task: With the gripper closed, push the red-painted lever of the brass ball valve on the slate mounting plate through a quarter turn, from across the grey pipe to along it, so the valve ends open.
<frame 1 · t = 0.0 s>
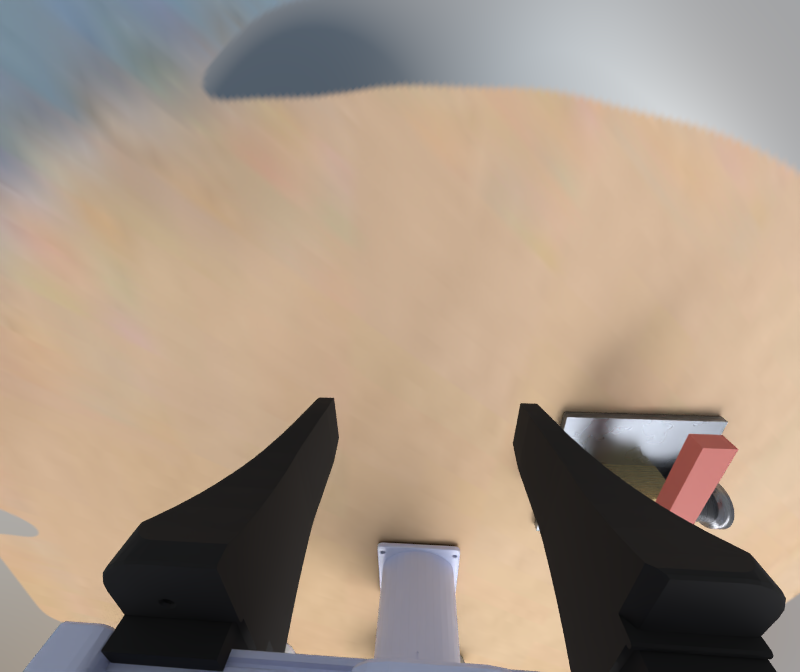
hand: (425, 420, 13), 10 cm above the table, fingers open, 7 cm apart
valve assembly: (616, 476, 28), on the table
valve lever: (678, 504, 21), point 5 cm above the table, hinge at 0.0°
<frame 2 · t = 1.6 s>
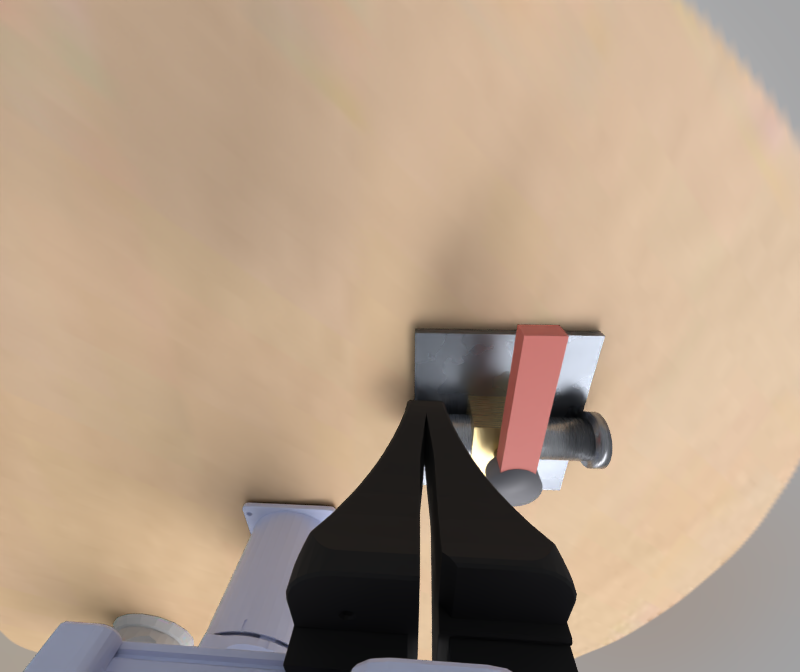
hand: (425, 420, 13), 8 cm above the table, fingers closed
valve assembly: (494, 414, 23), on the table
valve lever: (523, 425, 17), point 5 cm above the table, hinge at 0.0°
french press: (149, 633, 42), on the table
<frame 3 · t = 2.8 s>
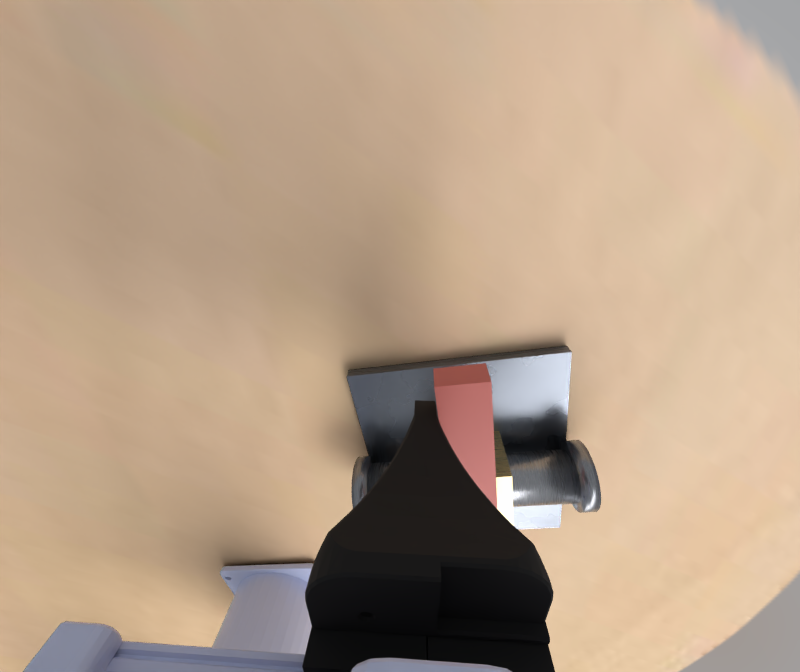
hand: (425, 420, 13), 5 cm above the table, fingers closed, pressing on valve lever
valve assembly: (463, 452, 20), on the table
valve lever: (471, 484, 14), point 5 cm above the table, hinge at 0.5°, touching gripper
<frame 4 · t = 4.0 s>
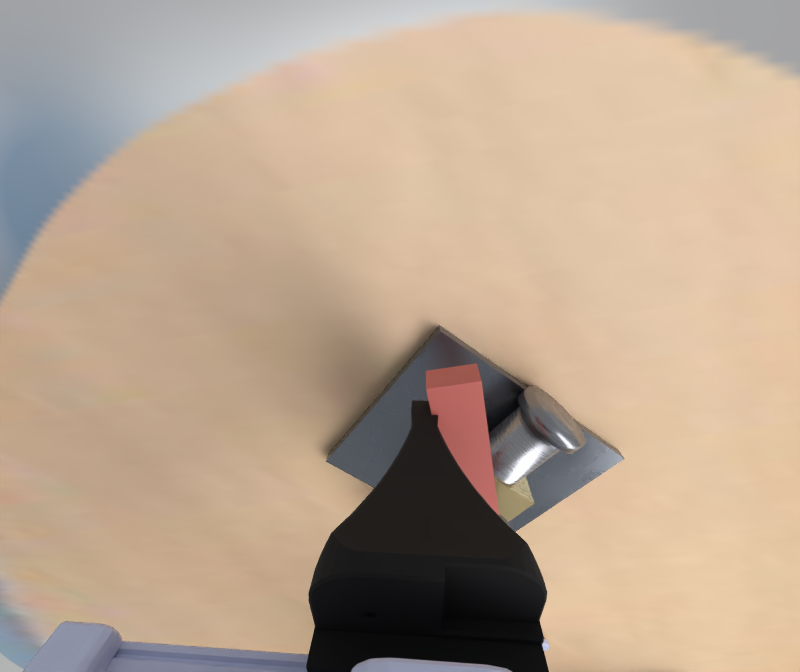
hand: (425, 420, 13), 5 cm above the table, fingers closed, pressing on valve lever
valve assembly: (467, 452, 20), on the table
valve lever: (471, 483, 14), point 5 cm above the table, hinge at 42.4°, touching gripper
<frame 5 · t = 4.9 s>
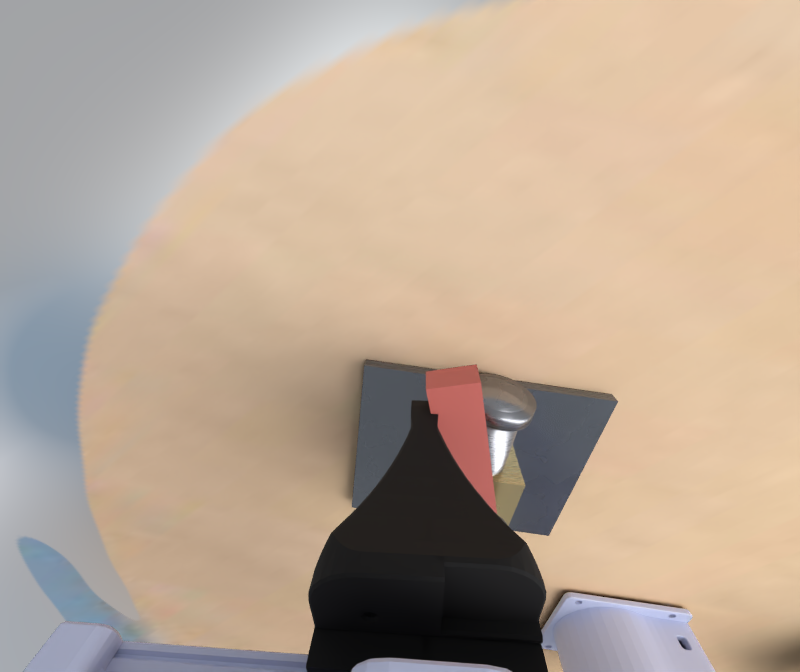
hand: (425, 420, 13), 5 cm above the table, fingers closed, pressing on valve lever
valve assembly: (466, 453, 20), on the table
valve lever: (469, 483, 14), point 5 cm above the table, hinge at 71.4°, touching gripper
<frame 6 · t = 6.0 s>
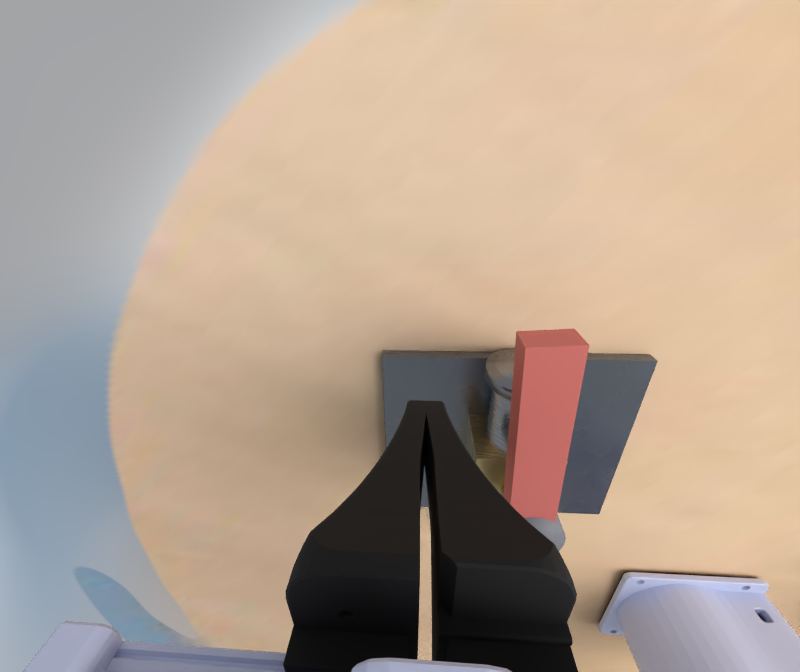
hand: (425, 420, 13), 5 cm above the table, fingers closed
valve assembly: (500, 436, 19), on the table
valve lever: (534, 461, 13), point 5 cm above the table, hinge at 86.2°
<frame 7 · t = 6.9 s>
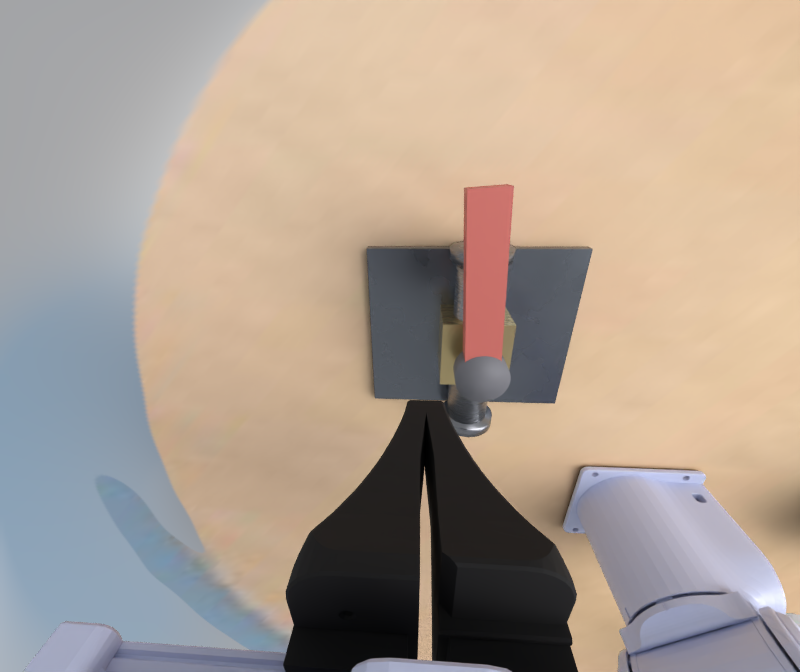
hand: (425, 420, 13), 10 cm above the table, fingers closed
valve assembly: (468, 329, 23), on the table
valve lever: (483, 306, 16), point 5 cm above the table, hinge at 86.3°
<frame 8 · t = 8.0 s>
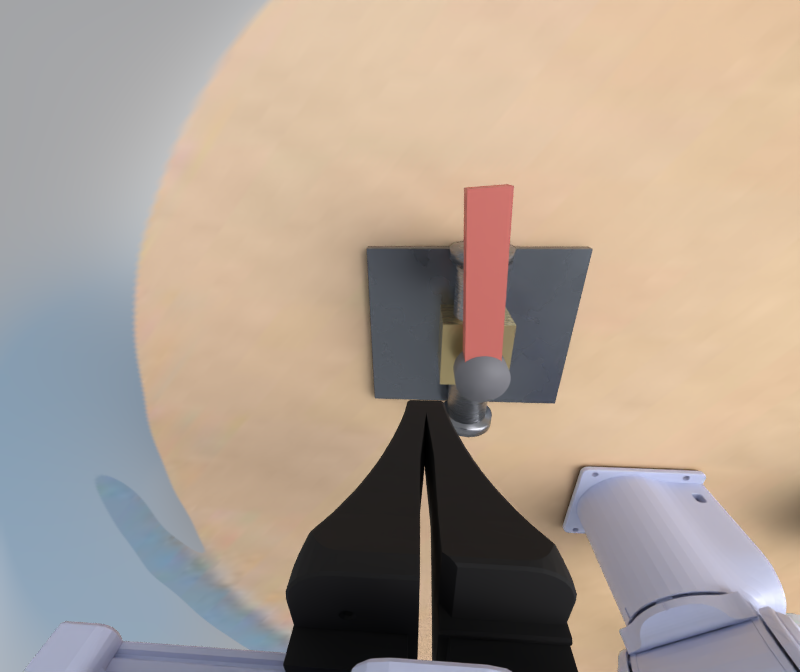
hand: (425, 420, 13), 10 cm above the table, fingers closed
valve assembly: (468, 329, 23), on the table
valve lever: (483, 306, 16), point 5 cm above the table, hinge at 86.3°
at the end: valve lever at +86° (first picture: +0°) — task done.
